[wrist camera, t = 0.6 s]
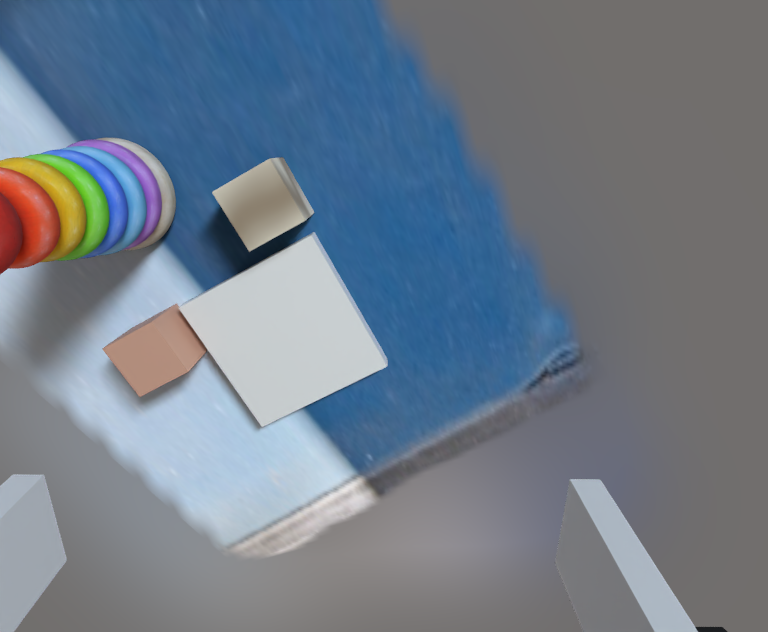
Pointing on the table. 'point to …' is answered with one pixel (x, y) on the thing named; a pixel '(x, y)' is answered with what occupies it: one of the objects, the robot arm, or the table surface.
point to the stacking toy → (82, 202)
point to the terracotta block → (156, 350)
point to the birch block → (264, 202)
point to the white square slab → (286, 331)
